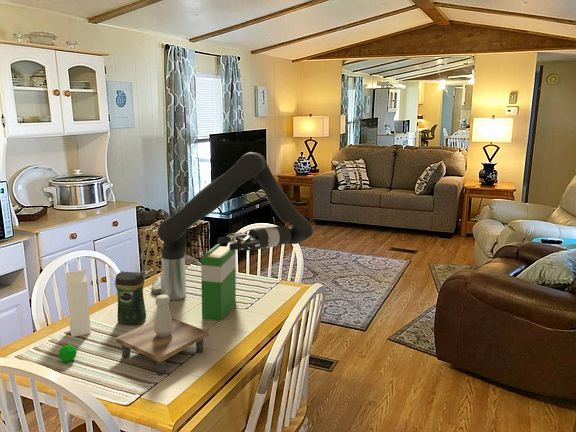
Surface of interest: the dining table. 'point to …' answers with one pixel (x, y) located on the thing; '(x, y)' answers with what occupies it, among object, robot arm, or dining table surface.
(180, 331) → the small wooden table
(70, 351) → the polyhedron
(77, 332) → the milk
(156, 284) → the long grey stone
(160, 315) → the salt shaker
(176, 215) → the robot arm
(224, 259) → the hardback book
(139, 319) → the coffee jar
